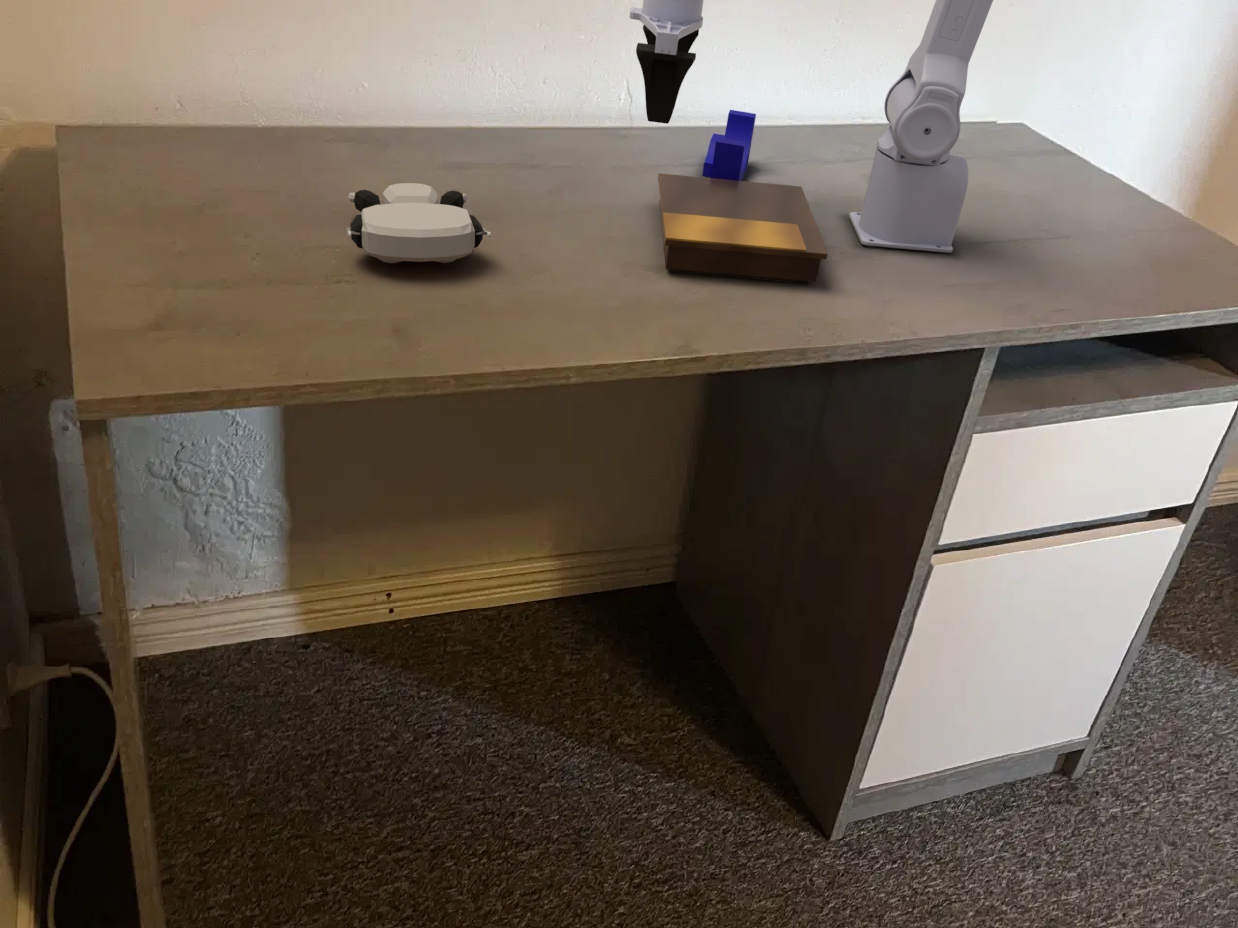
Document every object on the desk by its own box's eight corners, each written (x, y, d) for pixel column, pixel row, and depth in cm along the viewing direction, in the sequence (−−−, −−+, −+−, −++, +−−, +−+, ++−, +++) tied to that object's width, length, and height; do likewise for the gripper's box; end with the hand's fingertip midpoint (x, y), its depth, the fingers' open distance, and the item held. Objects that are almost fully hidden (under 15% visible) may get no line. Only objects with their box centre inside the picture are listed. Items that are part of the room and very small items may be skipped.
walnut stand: (795, 219, 121) (802, 184, 119) (820, 289, 107) (828, 252, 105) (654, 206, 120) (658, 171, 118) (660, 275, 106) (665, 237, 104)
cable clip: (709, 158, 134) (717, 107, 130) (747, 165, 133) (756, 114, 130) (694, 193, 124) (702, 139, 121) (735, 200, 123) (744, 146, 120)
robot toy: (343, 221, 111) (349, 279, 98) (342, 175, 108) (347, 228, 96) (470, 222, 114) (491, 277, 101) (471, 177, 111) (492, 228, 99)
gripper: (640, -54, 113) (626, 84, 121) (629, -24, 101) (614, 127, 109) (711, -45, 113) (693, 92, 121) (708, -15, 101) (688, 136, 109)
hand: (660, 110), depth 115 cm, fingers open, 7 cm apart
